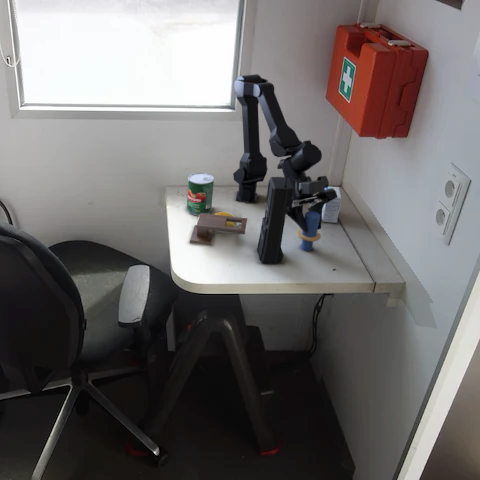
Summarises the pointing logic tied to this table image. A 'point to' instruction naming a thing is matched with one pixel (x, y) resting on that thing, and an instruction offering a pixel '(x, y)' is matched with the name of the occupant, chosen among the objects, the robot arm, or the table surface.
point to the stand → (214, 227)
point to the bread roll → (230, 224)
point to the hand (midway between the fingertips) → (313, 230)
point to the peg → (310, 230)
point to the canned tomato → (200, 193)
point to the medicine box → (332, 207)
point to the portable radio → (274, 220)
